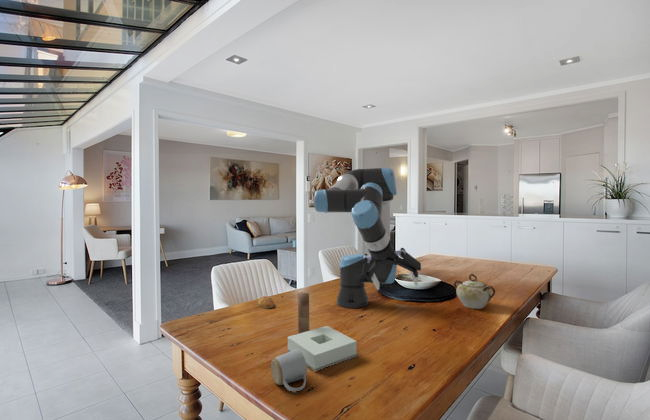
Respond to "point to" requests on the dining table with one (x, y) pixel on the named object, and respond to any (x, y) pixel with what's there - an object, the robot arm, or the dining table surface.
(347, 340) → the socket block
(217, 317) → the dining table surface
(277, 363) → the ceramic mug
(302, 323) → the dowel
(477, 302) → the sugar bowl
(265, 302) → the tan rounded lump
